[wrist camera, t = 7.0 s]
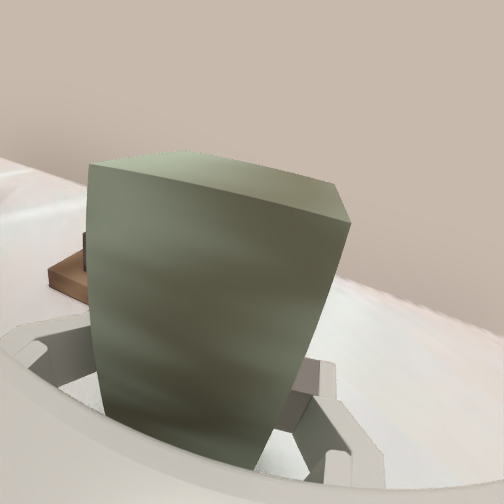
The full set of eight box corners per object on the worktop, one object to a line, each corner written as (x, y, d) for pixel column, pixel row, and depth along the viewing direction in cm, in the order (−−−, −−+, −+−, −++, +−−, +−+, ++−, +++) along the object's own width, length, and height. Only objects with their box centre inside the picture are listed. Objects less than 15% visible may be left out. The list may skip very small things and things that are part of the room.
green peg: (124, 481, 9) (89, 163, 5) (162, 414, 13) (186, 150, 9) (226, 519, 9) (351, 223, 4) (249, 442, 13) (334, 184, 8)
